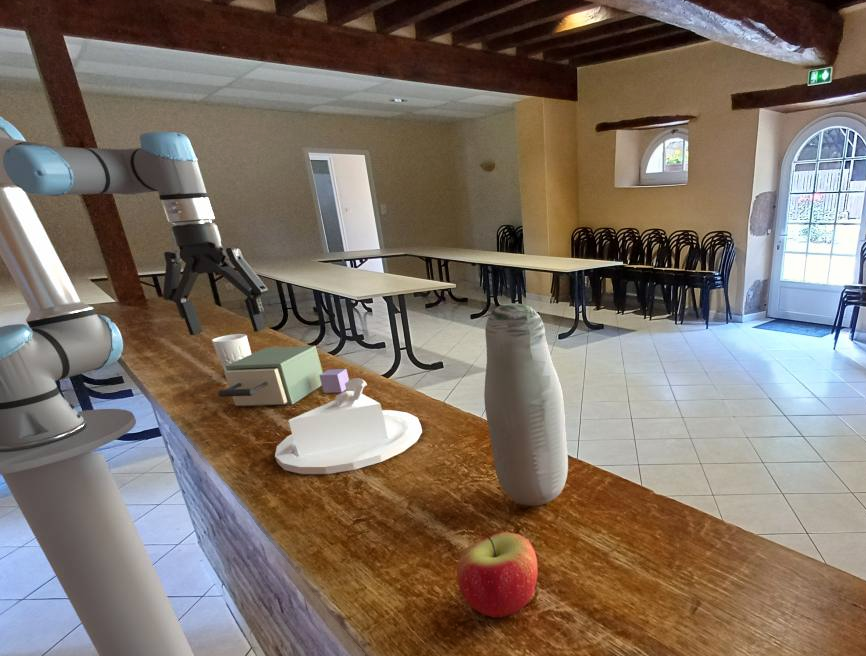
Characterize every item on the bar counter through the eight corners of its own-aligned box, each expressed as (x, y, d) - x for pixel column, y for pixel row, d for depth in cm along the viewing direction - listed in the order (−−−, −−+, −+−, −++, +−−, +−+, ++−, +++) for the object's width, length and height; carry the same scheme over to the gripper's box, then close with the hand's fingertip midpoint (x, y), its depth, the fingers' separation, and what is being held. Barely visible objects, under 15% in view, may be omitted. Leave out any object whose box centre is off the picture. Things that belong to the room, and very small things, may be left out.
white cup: (221, 374, 149) (209, 338, 145) (253, 367, 154) (243, 332, 150) (227, 380, 143) (214, 343, 139) (260, 373, 148) (249, 336, 144)
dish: (386, 407, 118) (375, 356, 114) (445, 437, 101) (435, 379, 97) (260, 446, 103) (241, 389, 98) (305, 490, 86) (285, 423, 82)
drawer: (267, 414, 116) (256, 379, 113) (215, 416, 116) (203, 381, 113) (316, 383, 134) (308, 352, 131) (271, 385, 134) (262, 354, 131)
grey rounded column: (584, 495, 80) (569, 301, 69) (528, 526, 73) (501, 317, 62) (541, 474, 86) (521, 294, 75) (486, 501, 80) (456, 308, 69)
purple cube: (323, 393, 129) (319, 375, 128) (333, 386, 134) (328, 369, 132) (341, 392, 129) (337, 374, 127) (350, 386, 133) (346, 368, 132)
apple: (457, 637, 55) (441, 556, 52) (471, 582, 63) (457, 507, 59) (539, 630, 56) (529, 549, 52) (543, 576, 64) (534, 501, 60)
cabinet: (292, 404, 123) (280, 363, 119) (238, 406, 124) (225, 365, 120) (325, 383, 137) (315, 345, 133) (277, 384, 137) (265, 347, 134)
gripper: (114, 228, 103) (156, 339, 111) (243, 220, 102) (276, 333, 110) (146, 225, 110) (183, 330, 118) (267, 218, 108) (296, 324, 117)
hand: (228, 332), depth 114 cm, fingers open, 13 cm apart
